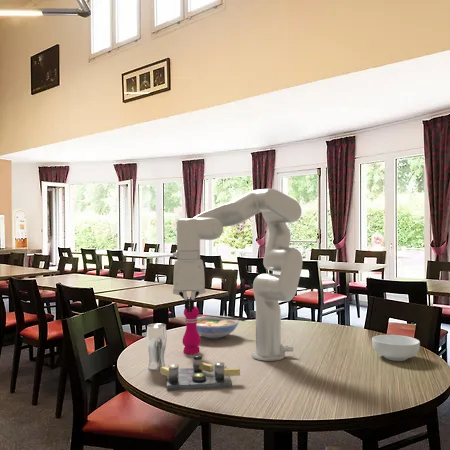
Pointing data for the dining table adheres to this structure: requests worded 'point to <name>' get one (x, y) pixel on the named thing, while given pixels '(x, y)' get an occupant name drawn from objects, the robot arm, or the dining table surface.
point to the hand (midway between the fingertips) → (189, 311)
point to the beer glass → (156, 345)
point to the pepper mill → (191, 332)
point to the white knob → (171, 372)
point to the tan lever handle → (201, 364)
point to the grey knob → (225, 371)
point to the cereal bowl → (396, 346)
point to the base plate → (198, 380)
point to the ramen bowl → (216, 326)
